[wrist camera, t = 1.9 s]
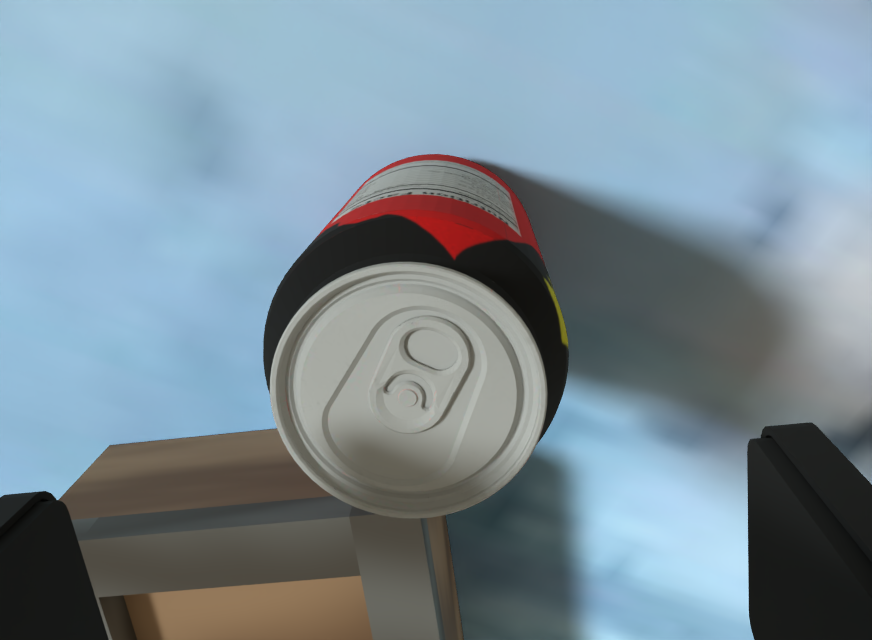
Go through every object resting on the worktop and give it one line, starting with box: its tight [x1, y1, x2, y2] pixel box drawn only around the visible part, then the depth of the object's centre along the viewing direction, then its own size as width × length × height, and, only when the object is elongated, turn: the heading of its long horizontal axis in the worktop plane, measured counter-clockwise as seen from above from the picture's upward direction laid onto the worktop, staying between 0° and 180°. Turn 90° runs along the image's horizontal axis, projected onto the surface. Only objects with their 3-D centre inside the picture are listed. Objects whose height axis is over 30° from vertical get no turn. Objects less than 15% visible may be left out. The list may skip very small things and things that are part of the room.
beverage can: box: [263, 154, 569, 518], centre depth 20 cm, size 6×6×12 cm
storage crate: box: [59, 429, 464, 640], centre depth 27 cm, size 12×12×6 cm
